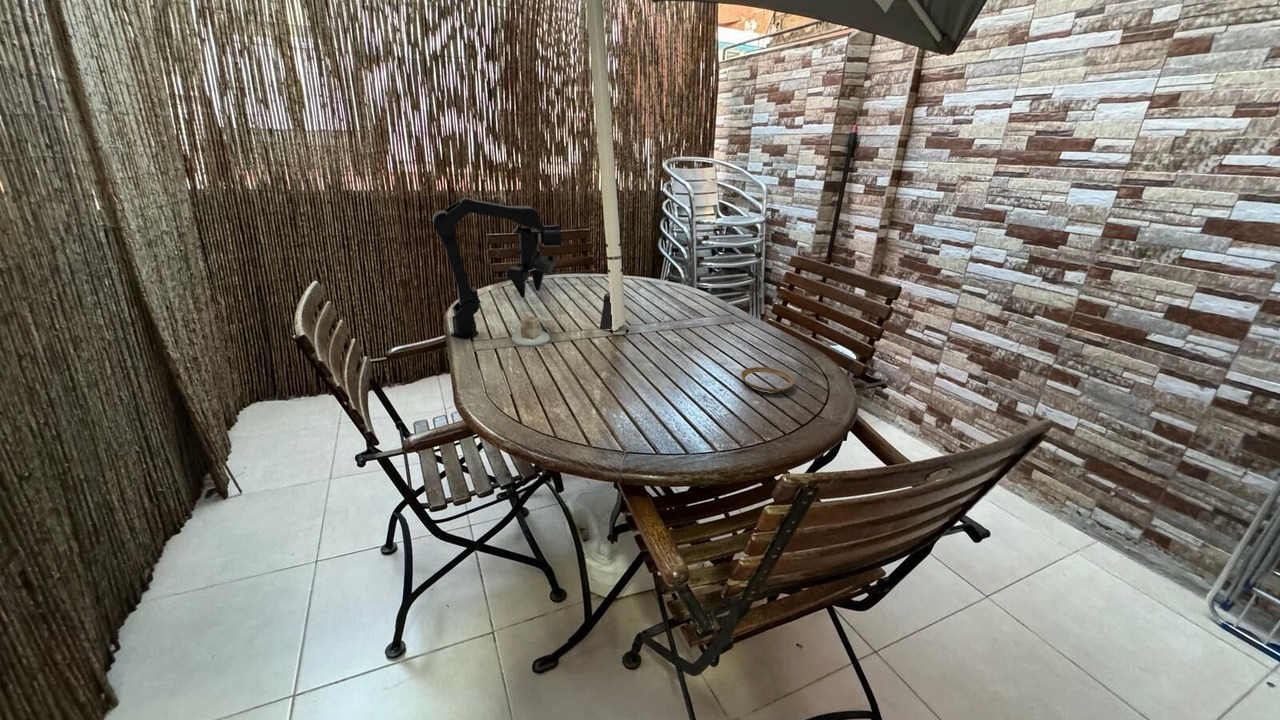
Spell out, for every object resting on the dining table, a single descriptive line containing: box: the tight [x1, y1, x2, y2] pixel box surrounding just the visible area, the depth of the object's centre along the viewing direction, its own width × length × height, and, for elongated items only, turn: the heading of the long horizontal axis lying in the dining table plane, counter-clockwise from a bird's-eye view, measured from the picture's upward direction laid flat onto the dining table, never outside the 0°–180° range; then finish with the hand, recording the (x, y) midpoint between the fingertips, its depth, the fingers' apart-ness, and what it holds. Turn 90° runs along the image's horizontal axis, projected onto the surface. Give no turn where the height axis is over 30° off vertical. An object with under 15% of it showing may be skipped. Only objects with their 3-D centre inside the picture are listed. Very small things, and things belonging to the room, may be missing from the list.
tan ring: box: [740, 366, 795, 392], centre depth 146 cm, size 15×15×3 cm
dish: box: [511, 330, 550, 347], centre depth 167 cm, size 12×12×1 cm
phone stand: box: [599, 293, 612, 330], centre depth 181 cm, size 9×6×12 cm, turn 161°
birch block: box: [520, 315, 541, 340], centre depth 166 cm, size 4×4×6 cm
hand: (530, 293), depth 172 cm, fingers open, 9 cm apart
